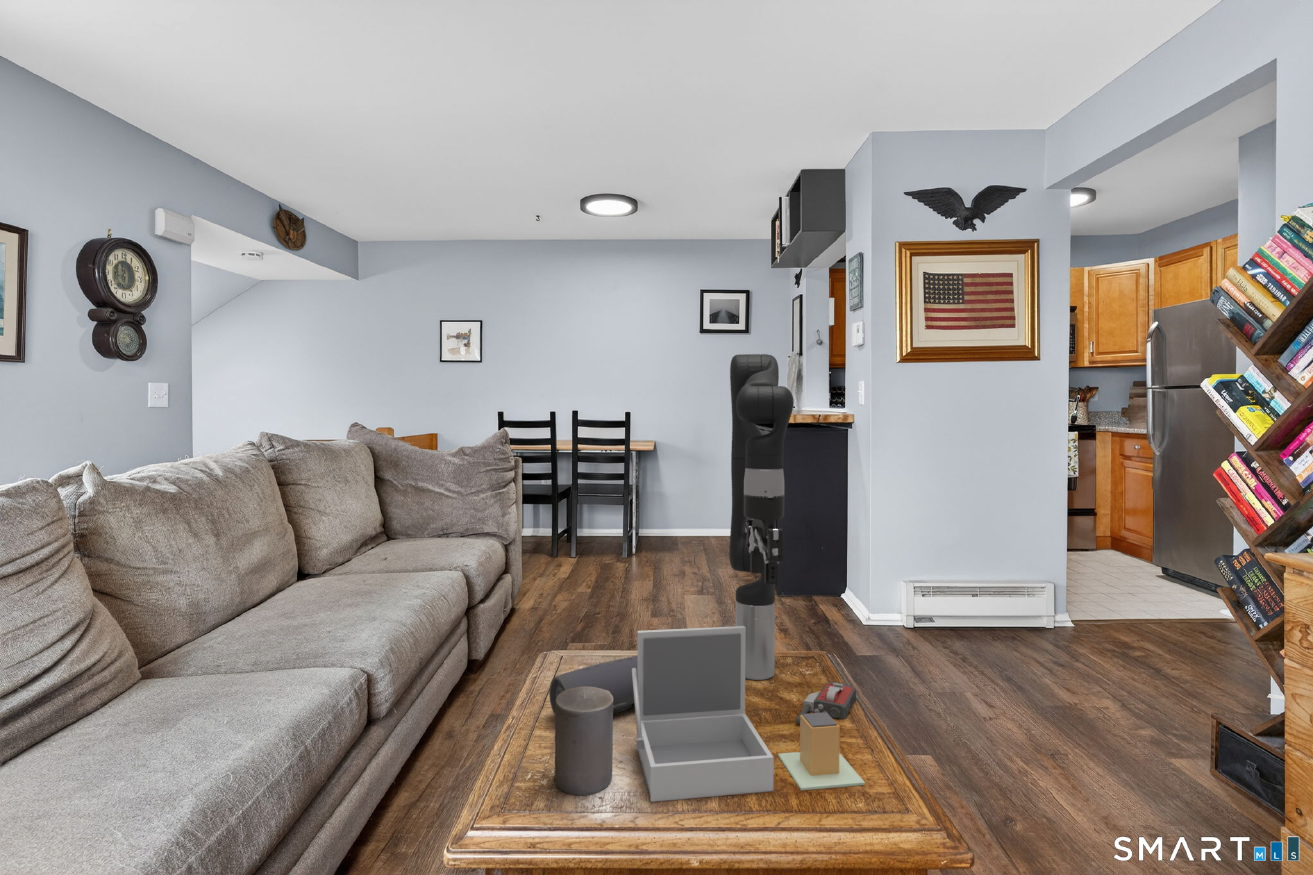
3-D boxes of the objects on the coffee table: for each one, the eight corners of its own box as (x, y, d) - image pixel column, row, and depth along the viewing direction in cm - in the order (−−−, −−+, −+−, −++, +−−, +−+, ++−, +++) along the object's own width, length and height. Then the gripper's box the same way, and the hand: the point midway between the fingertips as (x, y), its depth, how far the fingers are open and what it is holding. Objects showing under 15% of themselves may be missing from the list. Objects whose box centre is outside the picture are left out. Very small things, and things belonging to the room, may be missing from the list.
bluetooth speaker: (642, 690, 144) (642, 645, 144) (666, 705, 136) (666, 658, 136) (547, 716, 131) (547, 667, 131) (568, 735, 123) (568, 683, 123)
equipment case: (630, 746, 119) (630, 630, 118) (742, 738, 122) (743, 624, 122) (643, 802, 101) (643, 666, 101) (773, 790, 105) (774, 658, 104)
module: (799, 760, 113) (800, 713, 113) (826, 758, 114) (827, 711, 114) (810, 775, 108) (811, 726, 108) (839, 773, 109) (839, 724, 109)
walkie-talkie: (818, 690, 145) (791, 727, 127) (818, 670, 145) (792, 704, 127) (858, 698, 141) (837, 737, 123) (858, 678, 141) (837, 714, 123)
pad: (778, 755, 116) (778, 753, 116) (836, 751, 117) (836, 748, 117) (801, 790, 105) (801, 787, 105) (865, 784, 107) (865, 782, 107)
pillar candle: (542, 779, 108) (542, 690, 107) (586, 757, 115) (587, 673, 114) (580, 803, 101) (581, 709, 101) (625, 778, 108) (626, 690, 108)
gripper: (734, 488, 128) (733, 570, 129) (756, 497, 114) (755, 588, 115) (770, 488, 130) (770, 569, 130) (797, 496, 115) (796, 586, 116)
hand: (763, 578), depth 122 cm, fingers open, 8 cm apart
